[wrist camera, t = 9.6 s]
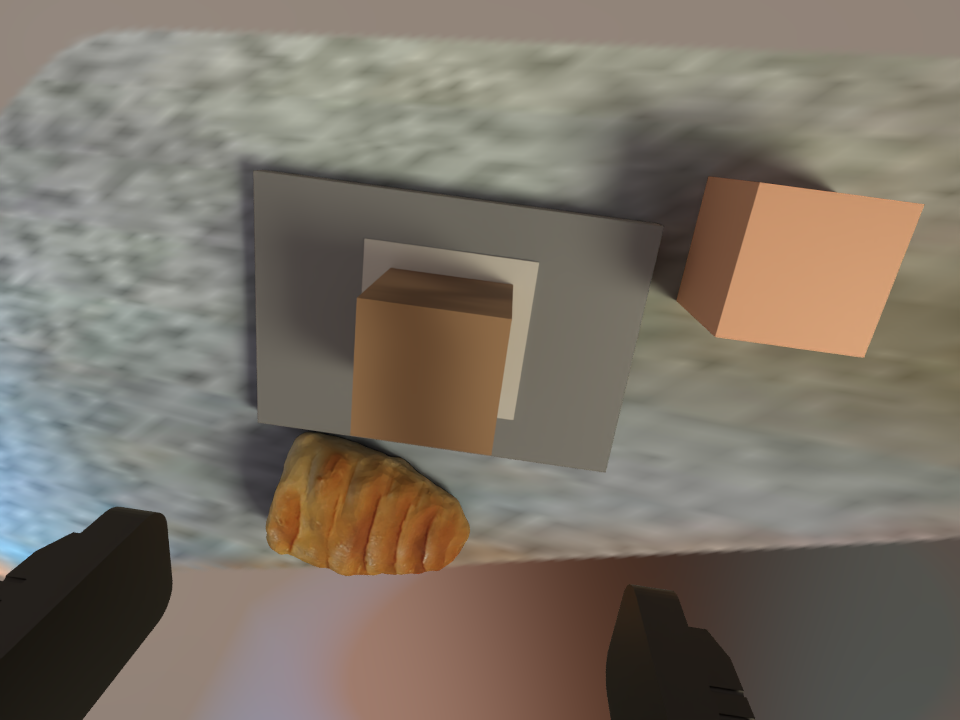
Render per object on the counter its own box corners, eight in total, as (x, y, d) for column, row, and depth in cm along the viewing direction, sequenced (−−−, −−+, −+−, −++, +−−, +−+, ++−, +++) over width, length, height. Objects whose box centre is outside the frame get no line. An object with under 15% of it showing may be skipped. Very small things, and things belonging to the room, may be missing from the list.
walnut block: (513, 284, 22) (511, 319, 18) (496, 397, 24) (491, 455, 19) (390, 267, 22) (356, 297, 18) (382, 381, 24) (350, 435, 20)
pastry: (487, 468, 27) (481, 517, 23) (452, 573, 29) (443, 632, 26) (298, 416, 27) (264, 458, 23) (279, 527, 29) (245, 580, 26)
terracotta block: (836, 193, 22) (924, 204, 17) (794, 316, 23) (864, 357, 19) (707, 176, 22) (759, 182, 17) (675, 300, 23) (715, 336, 19)
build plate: (658, 223, 22) (664, 227, 21) (602, 461, 26) (605, 473, 25) (264, 170, 23) (252, 170, 22) (266, 413, 26) (256, 423, 25)
